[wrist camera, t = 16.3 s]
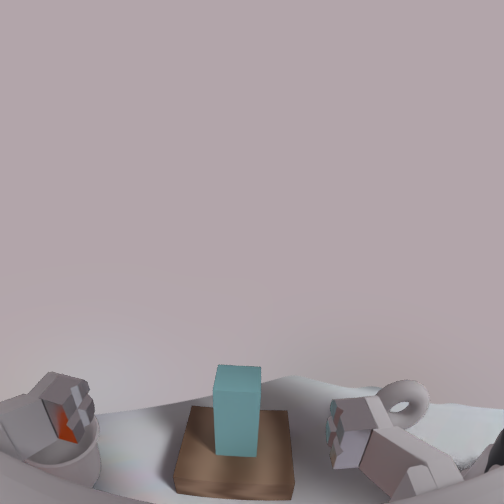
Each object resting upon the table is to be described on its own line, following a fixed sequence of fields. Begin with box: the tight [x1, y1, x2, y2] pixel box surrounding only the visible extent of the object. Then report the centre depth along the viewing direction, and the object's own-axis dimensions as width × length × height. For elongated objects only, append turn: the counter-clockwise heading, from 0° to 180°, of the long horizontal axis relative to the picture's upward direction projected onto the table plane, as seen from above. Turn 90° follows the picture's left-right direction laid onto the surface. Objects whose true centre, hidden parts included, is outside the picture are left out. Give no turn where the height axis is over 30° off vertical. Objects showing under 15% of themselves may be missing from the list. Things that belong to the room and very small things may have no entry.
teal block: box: [213, 365, 261, 457], centre depth 35 cm, size 5×5×11 cm
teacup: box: [23, 415, 101, 488], centre depth 29 cm, size 12×15×10 cm
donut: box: [375, 380, 430, 430], centre depth 41 cm, size 10×4×10 cm, turn 82°
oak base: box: [173, 406, 295, 500], centre depth 37 cm, size 14×14×4 cm
